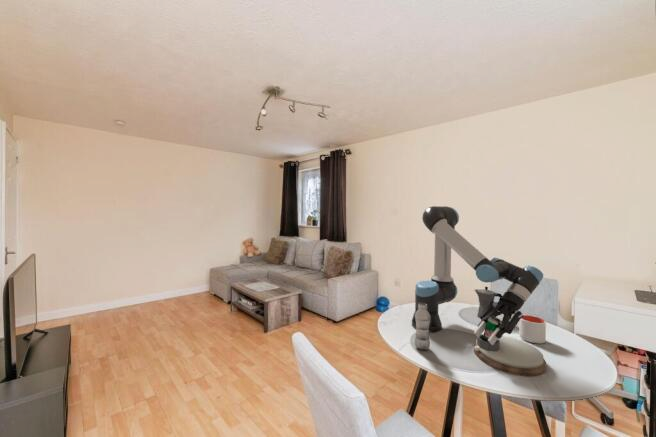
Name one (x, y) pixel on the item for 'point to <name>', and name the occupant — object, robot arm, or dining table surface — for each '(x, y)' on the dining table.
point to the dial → (511, 352)
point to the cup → (532, 329)
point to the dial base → (511, 369)
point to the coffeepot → (485, 298)
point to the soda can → (491, 327)
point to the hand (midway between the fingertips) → (483, 338)
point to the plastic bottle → (422, 327)
